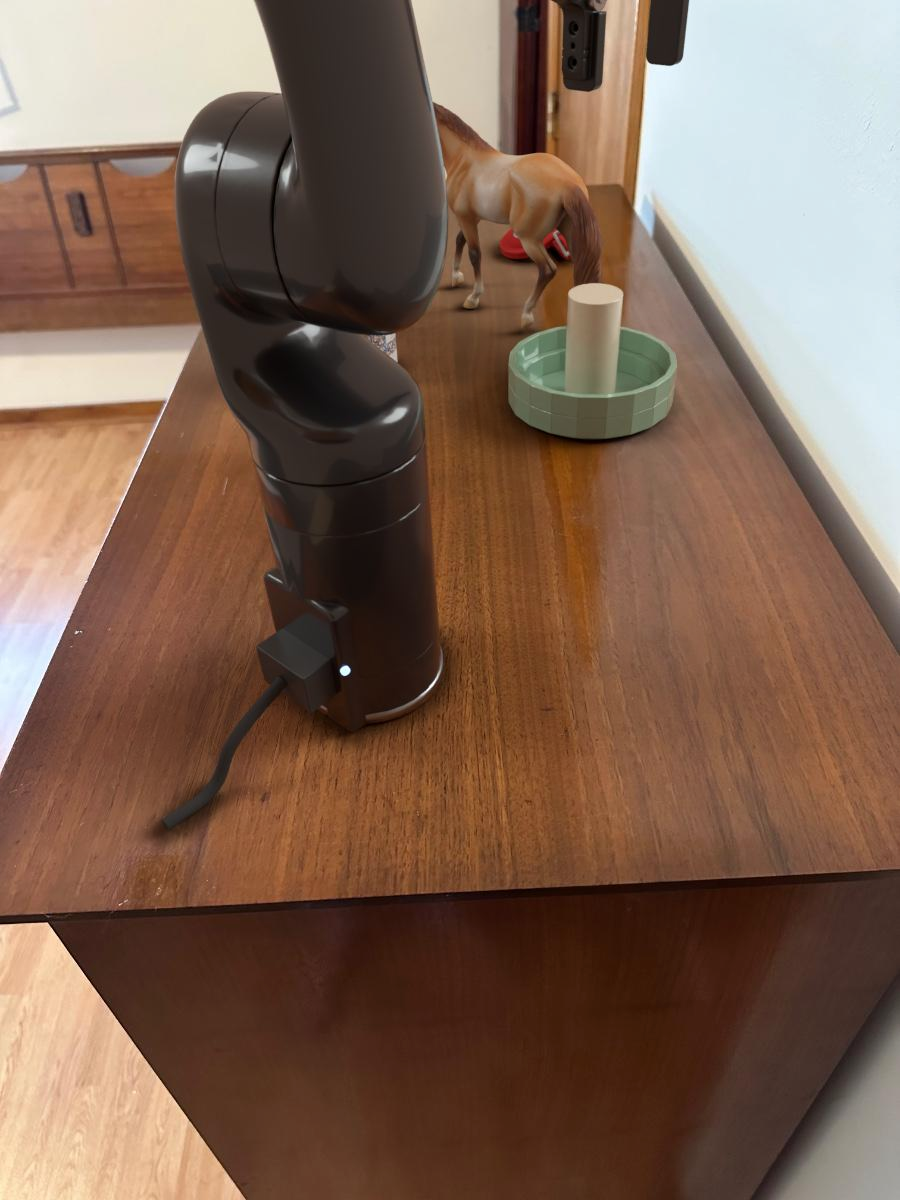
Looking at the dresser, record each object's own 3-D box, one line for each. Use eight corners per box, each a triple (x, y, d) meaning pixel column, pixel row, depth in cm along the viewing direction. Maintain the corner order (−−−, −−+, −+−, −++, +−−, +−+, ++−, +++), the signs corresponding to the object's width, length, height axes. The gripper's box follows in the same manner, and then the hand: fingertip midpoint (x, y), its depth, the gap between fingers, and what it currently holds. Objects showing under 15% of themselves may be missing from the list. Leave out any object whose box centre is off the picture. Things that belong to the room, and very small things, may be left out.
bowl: (610, 461, 76) (614, 415, 73) (476, 409, 84) (475, 365, 81) (701, 395, 84) (708, 350, 82) (571, 353, 92) (573, 311, 90)
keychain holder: (487, 251, 113) (509, 208, 118) (498, 281, 116) (519, 238, 121) (578, 237, 107) (597, 192, 113) (587, 269, 110) (605, 224, 116)
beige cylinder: (595, 414, 81) (602, 308, 75) (553, 399, 84) (556, 295, 78) (624, 394, 84) (634, 290, 78) (583, 380, 87) (589, 279, 80)
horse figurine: (400, 289, 108) (386, 98, 95) (449, 273, 112) (442, 86, 98) (584, 371, 89) (599, 147, 76) (637, 348, 93) (659, 130, 79)
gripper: (638, -343, 36) (609, 107, 46) (798, -320, 44) (742, 61, 54) (495, -317, 40) (498, 92, 50) (665, -300, 48) (637, 51, 58)
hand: (624, 76), depth 52 cm, fingers open, 8 cm apart
